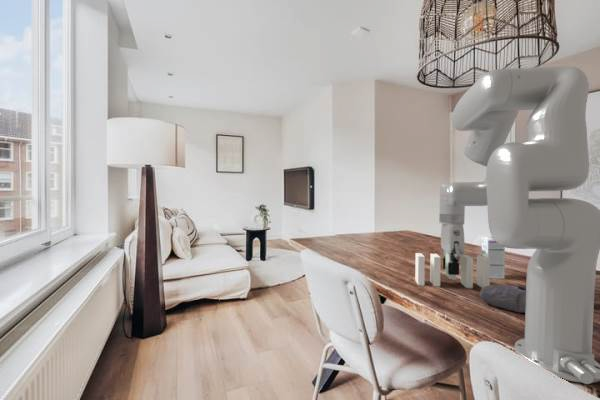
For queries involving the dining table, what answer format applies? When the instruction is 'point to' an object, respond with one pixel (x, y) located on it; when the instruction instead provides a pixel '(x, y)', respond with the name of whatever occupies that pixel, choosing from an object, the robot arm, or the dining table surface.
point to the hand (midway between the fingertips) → (450, 271)
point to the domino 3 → (447, 267)
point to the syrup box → (494, 257)
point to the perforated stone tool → (505, 297)
